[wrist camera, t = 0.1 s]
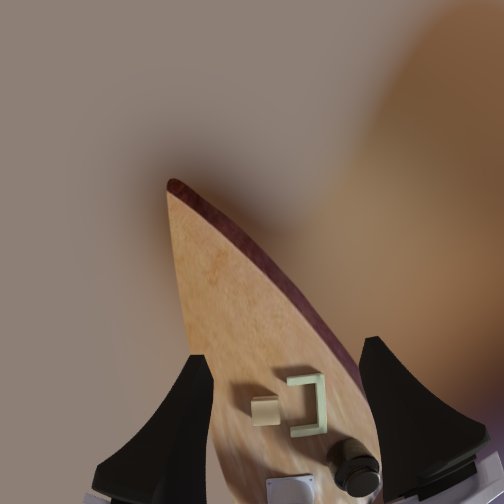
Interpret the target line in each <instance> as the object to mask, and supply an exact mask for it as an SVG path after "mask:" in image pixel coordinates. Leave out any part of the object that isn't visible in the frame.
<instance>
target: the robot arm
mask: <svg viewBox="0 0 504 504" xmlns="http://www.w3.org/2000/svg"><path fill="white" fill-rule="evenodd" d="M359 370H360V375H361V380H362V384H363V388H364V391H365V394H366V397H367V400H368V403H369V406H370V409H371V412H372V415H373V418H374V421H375V425H376V429H377V434H378V440H379V446H380V454H381V463H382V475H383V500H384V504H385V503H388V502H391V501H394V500H397V499H400V498H403V497H404V498H405V499H404V500H401V501H398V502H395V503H393V504H488V503H489V502H490V501H492V500H493V499H494V498H496V497H497V496H499V495H500V494H501V493H502V492H504V471H503V468H502V465H501V461H500V459H499V455H498V453H497V452H494V453H493V454H491V455H490V456H488V457H487V458H485V459H484V460H482V461H480V462H479V463H477V464H476V465H475V463H474V461H475V460H476V454H475V453H477V452H478V451H479V450H480V449H482V448H483V447H485V446H486V445H487V444H488V443H489V442H490V440H491V439H490V436H489V433H488V431H487V429H486V427H485V425H483V424H481V423H479V422H476V421H474V420H472V419H470V418H468V417H466V416H464V415H463V414H461V413H459V412H457V411H456V410H455V409H453V408H452V407H450V406H449V405H447V404H445V403H444V402H443V401H441V400H440V399H439V398H437V397H436V396H435V395H434V394H433V393H431V392H430V391H429V390H428V389H427V388H426V387H424V386H423V385H422V384H421V383H420V382H419V381H418V380H417V379H416V378H415V377H414V376H413V375H412V374H411V373H410V372H409V371H408V370H407V369H406V368H405V366H404V365H403V364H401V362H400V361H399V360H398V359H397V358H396V356H395V355H394V354H393V353H392V352H391V351H390V350H389V348H388V347H387V346H386V345H385V343H384V342H383V341H382V340H381V339H380V338H379V337H378V336H375V337H370V338H366V339H365V343H364V347H363V351H362V355H361V358H360V362H359ZM213 389H214V379H213V377H212V374H211V372H210V369H209V367H208V364H207V362H206V359H205V357H204V355H190V356H189V358H188V360H187V362H186V364H185V366H184V367H183V369H182V371H181V373H180V375H179V376H178V378H177V380H176V382H175V383H174V385H173V386H172V388H171V390H170V391H169V393H168V395H167V396H166V398H165V399H164V401H163V402H162V403H161V405H160V406H159V408H158V409H157V411H156V412H155V413H154V414H153V416H152V417H151V418H150V420H149V421H148V422H147V423H146V424H145V425H144V426H143V427H142V429H141V430H140V431H139V432H138V433H137V434H136V435H135V436H134V437H133V438H132V439H131V440H130V441H129V442H128V443H126V444H125V445H124V446H123V447H122V448H121V449H120V450H118V451H117V452H116V453H115V454H113V455H112V456H111V457H109V458H108V459H106V460H105V461H104V462H102V463H101V464H99V465H98V466H97V468H96V471H95V475H94V479H93V483H92V489H93V490H95V491H97V492H99V493H101V494H104V495H106V496H108V497H111V498H112V499H111V502H109V501H107V500H104V499H101V498H98V497H96V496H93V495H91V494H88V493H85V496H84V501H83V504H207V501H206V480H205V479H206V475H205V474H206V472H205V471H206V468H205V466H206V443H207V435H208V429H209V423H210V416H211V410H212V404H213ZM310 479H312V480H310ZM268 483H270V484H268ZM266 488H267V500H268V504H314V476H313V475H305V476H297V477H286V478H271V479H267V480H266Z"/></svg>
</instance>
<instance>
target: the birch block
mask: <svg viewBox="0 0 504 504" xmlns="http://www.w3.org/2000/svg"><path fill="white" fill-rule="evenodd" d="M251 410H252V422H253V426H264V425H278V424H280V410H279V397H278V395H275V396H261V397H253V398H252V400H251Z"/></svg>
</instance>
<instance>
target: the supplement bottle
mask: <svg viewBox="0 0 504 504" xmlns="http://www.w3.org/2000/svg"><path fill="white" fill-rule="evenodd" d="M326 461H327V465H328V467H329V470H330V472H331V475H332V477H333V480H334V482H335V484H336V486H337V487H338V488H339V489H341V490H343V491H347V493H348V494H349V495H350V496H352V497H355V498H356V497H358V498H359V497H364V496H367V495H369V494H371V493H372V492H374V491H375V490H376V489H377V487H378V486H379V484H380V480H381V478H380V475H379V463H378V461H377V460H376V459H375V457H374V456H373V455H372V454H371V453H370V452H369V451H368V449H367V448H366V447H365V446H364V445H363V444H362V443H361V442H360V441H358V440H355V439H345V440H341V441H339V442H337V443H336V444H334V445H333V446H332V447H331V448H330V450H329V451H328V453H327V457H326Z"/></svg>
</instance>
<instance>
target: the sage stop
mask: <svg viewBox="0 0 504 504" xmlns="http://www.w3.org/2000/svg"><path fill="white" fill-rule="evenodd" d="M310 383H315V393H316V410H317V424H309V425H301V426H292V427H290V434H291V438H293V437H302V436H310V435H317V434H324V433H327V417H326V398H325V382H324V374H323V373H314V374H307V375H298V376H289V377H287V386H293V385H302V384H310Z"/></svg>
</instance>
